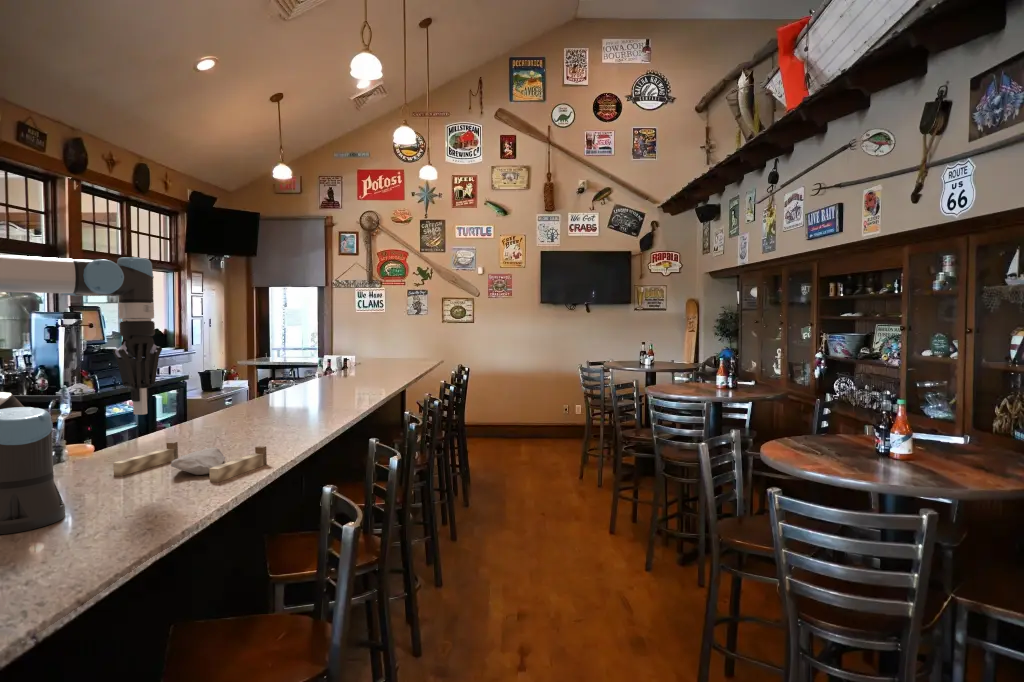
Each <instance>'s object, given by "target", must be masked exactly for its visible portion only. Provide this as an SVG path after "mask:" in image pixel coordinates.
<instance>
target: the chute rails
mask: <svg viewBox="0 0 1024 682" xmlns="http://www.w3.org/2000/svg"><path fill="white" fill-rule="evenodd" d="M165 444H166V448H164V449H163V448H162V449H160V450H156V451H151V452H148V453H145V454H144V453H143V454H141V455H136V456H134V457H130V458H125V459H121V460H119V461H114V462H113V463H112V464H113V465H112V467H113V476H115V477H122V476H123V477H124V476H126V475H130V474H132V473H136V472H139V471H144V470H146V469H149V468H153V467H156V466H159V465H163V464H166V463H171V461H173V460H175V459H178V458H179V450H178V449H179V447H178V446H179V445H178V441H168V442H166V443H165ZM254 451H255V452H254V453H251V454H248V455H245V456H243V457H240V458H236V459H233V460H230V461H227V462H225V463H224V462H223V464H221V465H218V466H215V467H212V468H209V472H210V473H209V483H220V482H223V481H225V480H226V481H227V480H228V479H231V478H234V477H236V476H237V477H238V476H239V475H241V474H245V473H246V472H249V471H252V470H255V469H258V468H260V467H264V466H266V465H268V463H267V462H268V461H267V446H265V445H263V446H262V445H257V446H255V447H254Z"/></svg>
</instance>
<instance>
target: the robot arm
mask: <svg viewBox="0 0 1024 682" xmlns="http://www.w3.org/2000/svg"><path fill="white" fill-rule="evenodd" d="M153 272H154V271H153V263H152V261H151V260H150V259H148V258H144V257H119V258H118V259H117V262H114V261H112V260H110V259H109V260H108V259H102V258H97V259H73V258H61V257H59V258H58V257H42V256H27V255H7V254H5V255H4V254H0V293H33V294H34V293H35V294H36V293H38V294H41V293H42V294H46V293H47V294H60V295H63V296H73V297H79V296H80V297H107V296H108V297H118V312H119V313H118V314H119V315H118V317H119V319H120V320H121V321H120V322H119V335H120V336H121V338H122V340H121V342H120V345H121V346H119V347H118V348H114V349H113V350H112V353H113V355H114V357H115V359H116V362H117V366H118V371H119V374H120V379H121V383H122V386H123V387H124V388H127V389H130V397H131V398H130V399H131V402H132V403H133V404H132V407H133V415H138V416H139V415H140V416H141V415H143V416H144V415H147V414H148V400H149V388H152V387H153V385H155V383H156V378H157V372H158V366H159V360H160V359H159V358H160V355H161V352H162V350H163V347H162V346H157V345H156V344H155V340H154V338H153V336H155V334H156V326H155V325H156V324H155V322H154V321H153V320H152V319H155V303H154V273H153ZM53 425H54V424H53V421H52V417H51V414H50V412H49V411H48V410H46V409H43V408H39V407H31V406H24V405H23V404H22V403H21V402H20V400H18V399H17V398H16V397H15V396H14V395H13V394H12V393H11V392H6V391H0V535H6V534H14V533H20V532H25V531H32V530H36V529H41V528H43V527H46V526H49V525H53V524H54V523H57V522H59V521H61V520H62V519H64V518H65V517H66V505H65V502H64V501H63V498H62V496H61V493H60V492H59V489H58V487H57V485H56V483H55V479H54V477H55V473H54V455H53V454H54V451H53V449H54V448H53V427H54V426H53Z"/></svg>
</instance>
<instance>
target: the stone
mask: <svg viewBox="0 0 1024 682" xmlns="http://www.w3.org/2000/svg"><path fill="white" fill-rule="evenodd" d="M225 460H226V456H225V455H224V453H223V452H222V451H221V450H220V448H218V447H207V448H204V449H201V450H195V451H192V452H190V453H187V454H184V455H183V454H182V455H180V456H179V457H178V459H175V460H173V461H170V467H173V468H175V469H178V470H180V471H184V472H186V473H189V474H192V475H196V476H200V475H201V476H202V475H207V474H210V472H209V468H212V467H215V466H218V465H221V464H224V462H225Z"/></svg>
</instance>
